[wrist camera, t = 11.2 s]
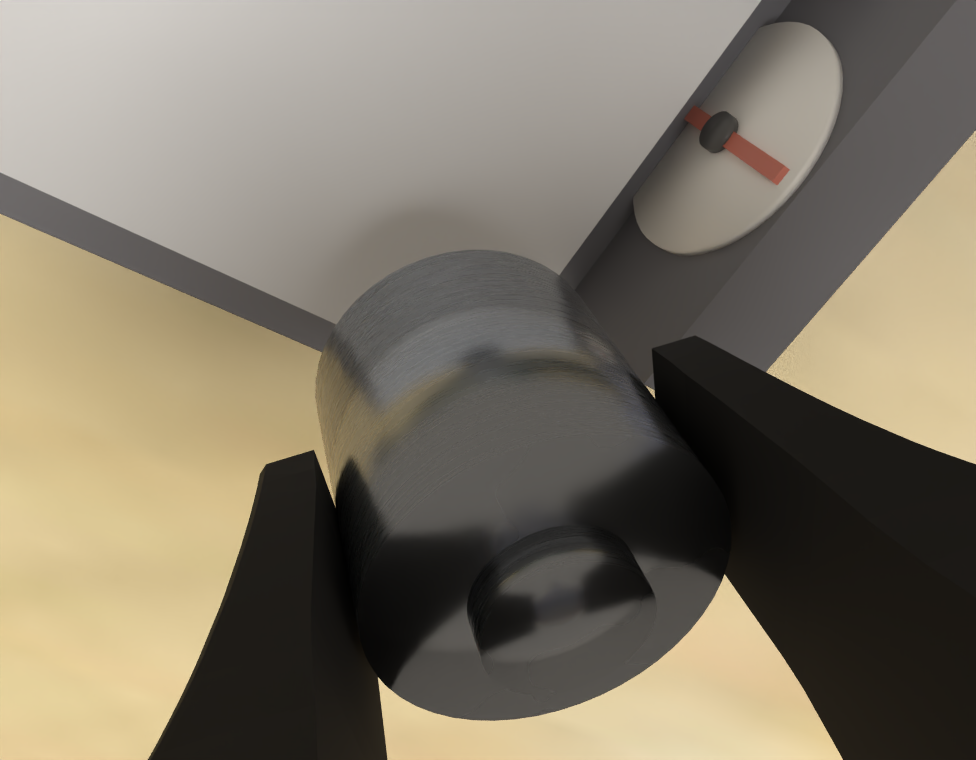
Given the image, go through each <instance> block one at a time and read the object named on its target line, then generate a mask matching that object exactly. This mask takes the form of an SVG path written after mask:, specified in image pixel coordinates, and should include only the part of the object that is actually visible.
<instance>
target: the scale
mask: <svg viewBox="0 0 976 760" xmlns="http://www.w3.org/2000/svg"><path fill="white" fill-rule="evenodd" d="M975 130H976V0H0V214H2V215H5V216H7V217H9V218H12V219H14V220H16V221H19V222H21V223H23V224H26V225H28V226H30V227H33V228H35V229H37V230H40V231H42V232H44V233H47V234H49V235H51V236H53V237H56V238H58V239H60V240H63V241H65V242H67V243H70V244H72V245H74V246H77V247H79V248H81V249H84V250H86V251H88V252H91V253H93V254H95V255H98V256H100V257H102V258H105V259H107V260H109V261H112V262H114V263H116V264H118V265H121V266H123V267H125V268H128V269H130V270H132V271H135V272H137V273H139V274H142V275H144V276H146V277H149V278H151V279H153V280H156V281H158V282H160V283H163V284H165V285H167V286H170V287H172V288H174V289H177V290H179V291H181V292H183V293H186V294H188V295H190V296H193V297H195V298H197V299H200V300H202V301H204V302H207V303H209V304H211V305H214V306H216V307H218V308H221V309H223V310H225V311H228V312H230V313H232V314H235V315H237V316H239V317H242V318H244V319H246V320H248V321H251V322H253V323H255V324H258V325H260V326H262V327H265V328H267V329H269V330H272V331H274V332H276V333H279V334H281V335H283V336H286V337H288V338H290V339H293V340H295V341H297V342H300V343H302V344H304V345H307V346H309V347H311V348H313V349H316V350H318V351H320V352H323V349H324V347H325V345H326V343H327V341H328V339H329V337H330V335H331V333H332V331H333V329H334V327H335V326H336V325H337V323H338V322H339V320H340V319H341V317H342V316H343V314H344V313H345V312H346V311H347V310H348V309H349V308H350V306H351V305H352V304H353V303H354V302H355V301H356V300H357V299H358V298H359V297H360V296H361V295H362V294H364V293H365V292H366V291H367V290H368V289H369V288H370V287H372V286H373V285H374V284H376V283H377V282H379V281H380V280H382V279H383V278H385V277H386V276H388V275H389V274H391V273H393V272H395V271H397V270H399V269H400V268H402V267H404V266H406V265H408V264H411V263H414V262H416V261H419V260H422V259H424V258H427V257H431V256H435V255H439V254H443V253H447V252H454V251H462V250H494V251H502V252H508V253H512V254H516V255H520V256H523V257H526V258H529V259H531V260H533V261H536V262H538V263H541V264H542V265H544V266H546V267H547V268H549V269H551V270H552V271H554V272H556V273H557V274H558V275H559V276H560V277H562V278H563V279H564V280H565V281H566V282H568V283H569V284H570V285H571V287H572V288H573V289H574V290H575V291H576V292H577V293H578V295H579V296H580V297H581V299H582V300H583V301H584V303H585V304H586V305H587V307H588V308H589V310H590V311H591V312H592V314H593V315H594V316H595V318H596V319H597V320H598V322H599V323H600V325H601V326H602V327H603V329H604V330H605V331H606V333H607V334H608V336H609V337H610V338H611V340H612V341H613V342H614V344H615V345H616V347H617V348H618V349H619V351H620V352H621V353H622V355H623V356H624V357H625V359H626V360H627V362H628V363H629V364H630V366H631V367H632V368H633V370H634V371H635V373H636V374H637V375H638V377H639V378H640V379H641V381H642V382H643V384H644V385H646V386H648V387H650V388H652V389H654V390H655V388H654V375H653V361H652V348H655V347H658V346H661V345H665V344H668V343H671V342H675V341H678V340H681V339H685V338H688V337H691V336H698V337H700V338H702V339H704V340H706V341H708V342H710V343H712V344H713V345H715V346H717V347H719V348H721V349H723V350H725V351H727V352H729V353H730V354H732V355H734V356H736V357H738V358H740V359H742V360H744V361H745V362H747V363H749V364H751V365H753V366H755V367H757V368H759V369H760V370H762V371H764V372H766V371H767V370H768V369H769V368H770V366H771V365H772V364H773V363H774V362H775V361H776V360H777V358H778V357H779V356H780V355H781V354H782V353H783V351H784V350H785V349H786V348H787V347H788V346H789V345H790V343H791V342H792V341H793V340H794V339H795V338H796V337H797V335H798V334H799V333H800V332H801V331H802V330H803V328H804V327H805V326H806V325H807V324H808V323H809V322H810V320H811V319H812V318H813V317H814V316H815V315H816V313H817V312H818V311H819V310H820V309H821V308H822V307H823V305H824V304H825V303H826V302H827V301H828V300H829V298H830V297H831V296H832V295H833V294H834V293H835V292H836V290H837V289H838V288H839V287H840V286H841V285H842V283H843V282H844V281H845V280H846V279H847V278H848V277H849V275H850V274H851V273H852V272H853V271H854V270H855V269H856V267H857V266H858V265H859V264H860V263H861V262H862V260H863V259H864V258H865V257H866V256H867V255H868V254H869V252H870V251H871V250H872V249H873V248H874V247H875V245H876V244H877V243H878V242H879V241H880V240H881V239H882V237H883V236H884V235H885V234H886V233H887V232H888V230H889V229H890V228H891V227H892V226H893V225H894V224H895V222H896V221H897V220H898V219H899V218H900V217H901V216H902V214H903V213H904V212H905V211H906V210H907V209H908V207H909V206H910V205H911V204H912V203H913V202H914V201H915V199H916V198H917V197H918V196H919V195H920V194H921V192H922V191H923V190H924V189H925V188H926V187H927V186H928V184H929V183H930V182H931V181H932V180H933V179H934V177H935V176H936V175H937V174H938V173H939V172H940V171H941V169H942V168H943V167H944V166H945V165H946V164H947V163H948V161H949V160H950V159H951V158H952V157H953V156H954V154H955V153H956V152H957V151H958V150H959V149H960V148H961V146H962V145H963V144H964V143H965V142H966V141H967V139H968V138H969V137H970V136H971V135H972V134H973V133H974V131H975Z"/></svg>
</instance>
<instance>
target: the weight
mask: <svg viewBox="0 0 976 760" xmlns="http://www.w3.org/2000/svg"><path fill="white" fill-rule="evenodd" d="M316 404H317V411H318V416H319V422H320V427H321V433H322V438H323V443H324V449H325V454H326V459H327V465H328V470H329V475H330V481H331V486H332V492H333V497H334V502H335V508H336V512H337V517H338V523H339V528H340V533H341V539H342V544H343V550H344V555H345V560H346V566H347V572H348V577H349V583H350V588H351V594H352V599H353V604H354V610H355V615H356V620H357V626H358V631H359V637H360V642H361V645H362V648H363V651H364V653H365V656H366V659H367V661H368V662H369V664H370V666H371V667H372V669H373V671H374V672H375V674H376V675H377V676H378V677H379V678H380V679H381V681H382V682H383V683H384V684H385V685H386V686H387V687H388V688H389V689H391V690H392V691H393V692H394V693H396V694H397V695H398V696H400V697H401V698H403V699H405V700H406V701H408V702H410V703H412V704H414V705H415V706H418V707H420V708H423V709H425V710H428V711H431V712H433V713H437V714H441V715H445V716H449V717H453V718H461V719H469V720H490V721H495V720H510V719H520V718H526V717H532V716H538V715H542V714H547V713H551V712H555V711H559V710H562V709H565V708H568V707H571V706H574V705H577V704H580V703H583V702H585V701H588V700H590V699H592V698H595V697H597V696H600V695H602V694H604V693H606V692H608V691H610V690H612V689H614V688H616V687H618V686H620V685H622V684H623V683H625V682H627V681H628V680H630V679H631V678H633V677H635V676H636V675H638V674H640V673H641V672H643V671H644V670H645V669H647V668H648V667H649V666H651V665H652V664H654V663H655V662H656V661H658V660H659V659H660V658H661V657H662V656H664V655H665V654H666V653H667V652H668V651H670V650H671V649H672V648H673V647H674V646H675V645H676V644H677V643H678V642H679V641H680V640H681V639H682V638H683V637H684V636H685V635H686V634H687V633H688V632H689V631H690V630H691V628H692V627H693V626H694V625H695V623H696V622H697V621H698V620H699V619H700V617H701V616H702V615H703V613H704V612H705V610H706V609H707V607H708V606H709V604H710V603H711V601H712V599H713V598H714V596H715V594H716V592H717V590H718V588H719V586H720V584H721V582H722V579H723V576H724V573H725V570H726V568H727V565H728V560H729V555H730V550H731V537H732V527H731V521H730V514H729V510H728V507H727V504H726V501H725V499H724V496H723V494H722V492H721V491H720V489H719V487H718V486H717V484H716V482H715V481H714V479H713V478H712V477H711V475H710V474H709V473H708V471H707V470H706V468H705V467H704V466H703V464H702V463H701V462H700V460H699V459H698V457H697V456H696V455H695V453H694V452H693V451H692V449H691V448H690V447H689V445H688V444H687V442H686V441H685V440H684V438H683V437H682V436H681V434H680V433H679V431H678V430H677V429H676V427H675V426H674V425H673V423H672V422H671V420H670V419H669V418H668V416H667V415H666V414H665V412H664V411H663V410H662V408H661V407H660V405H659V404H658V403H657V401H656V400H655V399H654V397H653V396H652V394H651V393H650V392H649V390H648V389H647V388H646V386H645V385H644V384H643V382H642V381H641V379H640V378H639V377H638V375H637V374H636V373H635V371H634V370H633V368H632V367H631V366H630V364H629V363H628V362H627V360H626V359H625V357H624V356H623V355H622V353H621V352H620V351H619V349H618V348H617V347H616V345H615V344H614V342H613V341H612V340H611V338H610V337H609V336H608V334H607V333H606V331H605V330H604V329H603V327H602V326H601V325H600V323H599V322H598V320H597V319H596V318H595V316H594V315H593V314H592V312H591V311H590V310H589V308H588V307H587V305H586V304H585V303H584V301H583V300H582V299H581V297H580V296H579V295H578V293H577V292H576V291H575V290H574V289H573V288H572V287H571V285H570V284H569V283H568V282H566V281H565V280H564V279H563V278H562V277H560V276H559V275H558V274H557V273H556V272H554V271H552V270H551V269H549V268H547V267H546V266H544V265H542V264H541V263H538V262H536V261H533V260H531V259H529V258H526V257H523V256H520V255H516V254H512V253H508V252H502V251H494V250H462V251H454V252H447V253H443V254H439V255H435V256H431V257H427V258H424V259H422V260H419V261H416V262H414V263H411V264H408V265H406V266H404V267H402V268H400V269H399V270H397V271H395V272H393V273H391V274H389V275H388V276H386V277H385V278H383V279H382V280H380V281H379V282H377V283H376V284H374V285H373V286H372V287H370V288H369V289H368V290H367V291H366V292H365V293H364V294H362V295H361V296H360V297H359V298H358V299H357V300H356V301H355V302H354V303H353V304H352V305H351V306H350V308H349V309H348V310H347V311H346V312H345V313H344V314H343V316H342V317H341V319H340V320H339V322H338V323H337V325H336V326H335V327H334V329H333V331H332V333H331V335H330V337H329V339H328V341H327V343H326V345H325V347H324V349H323V352H322V355H321V358H320V361H319V365H318V371H317V377H316Z"/></svg>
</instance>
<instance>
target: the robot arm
mask: <svg viewBox="0 0 976 760" xmlns="http://www.w3.org/2000/svg"><path fill="white" fill-rule="evenodd" d="M652 361H653V375H654V388H655V400H656V401H657V403H658V404H659V405H660V407H661V408H662V410H663V411H664V412H665V414H666V415H667V416H668V418H669V419H670V420H671V422H672V423H673V425H674V426H675V427H676V429H677V430H678V431H679V433H680V434H681V436H682V437H683V438H684V440H685V441H686V442H687V444H688V445H689V447H690V448H691V449H692V451H693V452H694V453H695V455H696V456H697V457H698V459H699V460H700V462H701V463H702V464H703V466H704V467H705V468H706V470H707V471H708V473H709V474H710V475H711V477H712V478H713V479H714V481H715V482H716V484H717V486H718V487H719V489H720V491H721V492H722V494H723V496H724V499H725V501H726V504H727V507H728V510H729V514H730V521H731V527H732V537H731V550H730V555H729V560H728V565H727V568H726V570H725V573H724V574H725V575H726V576H727V578H728V579H729V581H730V582H731V584H732V585H733V586H734V588H735V589H736V591H737V592H738V594H739V595H740V596H741V598H742V599H743V601H744V602H745V603H746V605H747V606H748V608H749V609H750V611H751V612H752V613H753V615H754V616H755V618H756V619H757V621H758V622H759V623H760V625H761V626H762V628H763V629H764V630H765V632H766V633H767V635H768V636H769V638H770V639H771V640H772V642H773V643H774V645H775V646H776V648H777V649H778V650H779V652H780V653H781V655H782V656H783V657H784V659H785V661H786V662H787V664H788V665H789V667H790V668H791V670H792V671H793V673H794V675H795V676H796V678H797V679H798V681H799V682H800V684H801V686H802V687H803V689H804V691H805V692H806V694H807V696H808V698H809V699H810V701H811V703H812V705H813V707H814V708H815V710H816V712H817V714H818V715H819V717H820V719H821V721H822V723H823V724H824V726H825V728H826V730H827V731H828V733H829V735H830V737H831V739H832V740H833V742H834V744H835V746H836V748H837V749H838V751H839V753H840V755H841V757H842V758H843V760H976V464H973V463H970V462H967V461H964V460H962V459H959V458H956V457H953V456H950V455H947V454H944V453H942V452H939V451H936V450H933V449H931V448H928V447H926V446H923V445H921V444H918V443H915V442H913V441H910V440H908V439H906V438H903V437H901V436H899V435H896V434H894V433H892V432H889V431H887V430H885V429H882V428H880V427H878V426H875V425H873V424H871V423H868V422H866V421H864V420H861V419H859V418H857V417H855V416H853V415H851V414H848V413H846V412H844V411H842V410H840V409H838V408H835V407H833V406H831V405H829V404H827V403H825V402H823V401H821V400H819V399H817V398H815V397H813V396H811V395H809V394H807V393H805V392H803V391H801V390H799V389H797V388H795V387H793V386H791V385H789V384H787V383H785V382H783V381H781V380H779V379H777V378H776V377H774V376H772V375H770V374H768V373H766V372H764V371H762V370H760V369H759V368H757V367H755V366H753V365H751V364H749V363H747V362H745V361H744V360H742V359H740V358H738V357H736V356H734V355H732V354H730V353H729V352H727V351H725V350H723V349H721V348H719V347H717V346H715V345H713V344H712V343H710V342H708V341H706V340H704V339H702V338H700V337H698V336H691V337H688V338H685V339H681V340H678V341H675V342H671V343H668V344H665V345H661V346H658V347H655V348H652ZM148 760H387V752H386V744H385V735H384V727H383V718H382V710H381V701H380V692H379V684H378V676H377V675H376V674H375V672H374V671H373V669H372V667H371V666H370V664H369V662H368V661H367V659H366V656H365V653H364V651H363V648H362V645H361V642H360V637H359V631H358V626H357V620H356V615H355V610H354V604H353V599H352V594H351V588H350V583H349V577H348V572H347V566H346V560H345V555H344V550H343V544H342V539H341V533H340V528H339V523H338V517H337V512H336V508H335V505H334V502H333V500H332V497H331V494H330V492H329V489H328V486H327V484H326V481H325V478H324V476H323V473H322V470H321V468H320V465H319V462H318V460H317V457H316V454H315V452H314V450H312V451H309V452H306V453H302V454H299V455H296V456H292V457H289V458H286V459H282V460H279V461H276V462H272V463H269V464H266V465H265V467H264V469H263V470H262V472H261V473H260V477H259V481H258V486H257V491H256V495H255V499H254V503H253V507H252V511H251V514H250V518H249V522H248V525H247V528H246V532H245V535H244V538H243V542H242V545H241V548H240V551H239V554H238V557H237V560H236V563H235V566H234V569H233V572H232V575H231V578H230V580H229V583H228V586H227V589H226V592H225V595H224V598H223V600H222V603H221V606H220V608H219V611H218V613H217V616H216V618H215V620H214V623H213V625H212V628H211V630H210V633H209V635H208V637H207V640H206V642H205V645H204V647H203V649H202V652H201V654H200V657H199V659H198V661H197V664H196V666H195V668H194V670H193V673H192V675H191V677H190V679H189V681H188V683H187V685H186V688H185V690H184V692H183V694H182V696H181V698H180V700H179V702H178V704H177V706H176V708H175V710H174V712H173V714H172V716H171V718H170V720H169V722H168V724H167V725H166V727H165V729H164V731H163V733H162V735H161V737H160V739H159V741H158V743H157V744H156V746H155V748H154V750H153V752H152V753H151V755H150V757H149V759H148Z"/></svg>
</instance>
